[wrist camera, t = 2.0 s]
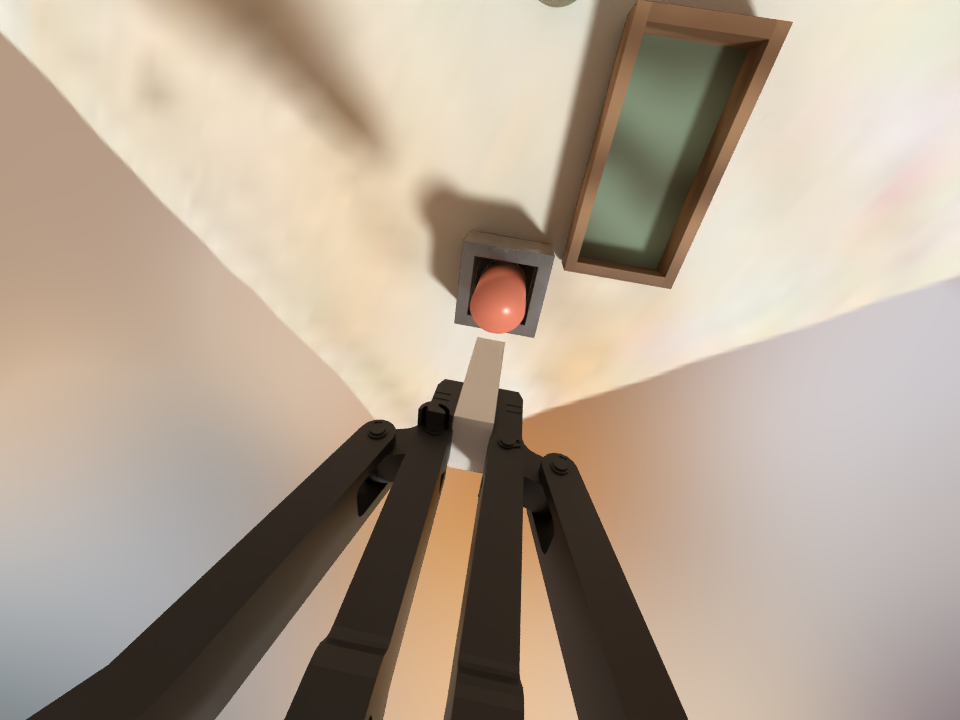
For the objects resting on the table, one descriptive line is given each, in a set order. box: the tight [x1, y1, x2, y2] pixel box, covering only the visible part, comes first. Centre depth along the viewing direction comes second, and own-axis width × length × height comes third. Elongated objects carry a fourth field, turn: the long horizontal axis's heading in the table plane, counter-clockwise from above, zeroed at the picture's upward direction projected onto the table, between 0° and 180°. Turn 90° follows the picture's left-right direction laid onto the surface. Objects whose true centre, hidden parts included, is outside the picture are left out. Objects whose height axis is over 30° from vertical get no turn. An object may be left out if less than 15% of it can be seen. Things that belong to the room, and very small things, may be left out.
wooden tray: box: [562, 0, 793, 289], centre depth 24 cm, size 16×9×2 cm, turn 172°
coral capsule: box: [470, 260, 526, 334], centre depth 27 cm, size 4×4×6 cm
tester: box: [454, 231, 555, 338], centre depth 29 cm, size 7×7×4 cm
